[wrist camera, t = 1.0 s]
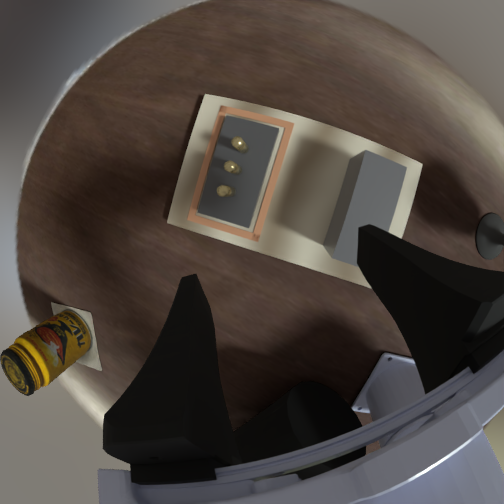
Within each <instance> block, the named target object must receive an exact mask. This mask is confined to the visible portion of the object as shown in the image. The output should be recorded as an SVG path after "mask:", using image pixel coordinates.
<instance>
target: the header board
mask: <svg viewBox="0 0 504 504" xmlns="http://www.w3.org/2000/svg"><path fill="white" fill-rule="evenodd" d="M364 150H368V151H370V152H373V153H375V154H378V155H380V156H383V157H385V158H387V159H390V160H392V161H394V162H396V163H399V164H401V165H403V166H405V167H407V170H406V174H405V178H404V181H403V185H402V189H401V192H400V196H399V199H398V203H397V206H396V209H395V213H394V216H393V219H392V222H391V225H390V228H389V231H388V232H389V233H391V234H393V235H395V236H397V237H399V238H402V235H403V232H404V229H405V226H406V223H407V220H408V217H409V213H410V210H411V207H412V203H413V200H414V196H415V193H416V189H417V185H418V181H419V177H420V173H421V169H422V165H423V164H421V163H419V162H417V161H415V160H413V159H411V158H409V157H407V156H405V155H403V154H400V153H398V152H396V151H394V150H391V149H389V148H387V147H384V146H382V145H380V144H377V143H375V142H373V141H370V140H368V139H365V138H362V137H360V136H357V135H355V134H352V133H349V132H347V131H344V130H341V129H338V128H335V127H333V126H330V125H327V124H324V123H321V122H318V121H314V120H311V119H308V118H305V117H302V116H298V115H295V114H291V113H288V112H284V111H280V110H277V109H273V108H269V107H265V106H261V105H257V104H252V103H248V102H244V101H239V100H234V99H229V98H224V97H219V96H213V95H208V94H205V96H204V98H203V101H202V104H201V107H200V110H199V113H198V116H197V119H196V122H195V125H194V128H193V131H192V134H191V137H190V141H189V144H188V147H187V150H186V154H185V157H184V161H183V164H182V167H181V171H180V175H179V178H178V182H177V185H176V189H175V193H174V197H173V201H172V205H171V209H170V213H169V217H168V221H167V223H169V224H172V225H175V226H178V227H182V228H185V229H188V230H191V231H194V232H197V233H200V234H204V235H207V236H210V237H213V238H216V239H219V240H222V241H225V242H229V243H232V244H235V245H238V246H241V247H244V248H247V249H251V250H254V251H257V252H260V253H263V254H266V255H269V256H272V257H276V258H279V259H282V260H285V261H288V262H291V263H294V264H297V265H301V266H304V267H307V268H310V269H313V270H316V271H319V272H322V273H325V274H329V275H332V276H335V277H338V278H341V279H344V280H347V281H350V282H353V283H357V284H360V285H363V286H366V287H369V288H371V286H370V285H369V284H368V282H367V281H366V279H365V277H364V275H363V274H362V272H361V270H360V268H359V267H357V266H354V265H351V264H348V263H345V262H342V261H339V260H336V259H333V258H331V256H330V255H329V254H328V252H327V251H326V249H325V248H324V246H323V243H324V240H325V237H326V234H327V231H328V228H329V225H330V222H331V219H332V216H333V213H334V210H335V207H336V203H337V200H338V197H339V194H340V190H341V187H342V184H343V181H344V177H345V174H346V170H347V167H348V163H349V160H350V158H352V157H354V156H356V155H357V154H359V153H361V152H362V151H364Z"/></svg>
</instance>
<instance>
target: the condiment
mask: <svg viewBox="0 0 504 504" xmlns="http://www.w3.org/2000/svg"><path fill="white" fill-rule="evenodd" d="M51 305H52V310H53V315H54V316H53V317H51V318H49V319H47V320H46V321H43V322H42V323H40V324H39V325H37V326H36V327H34V328H33V329H31V330H29V331H27V332H25V333H24V334H23V335H21V336H19V337H18V338H17V339H16V340H15V342H14V344H13V345H11V346H9V348H7V349H6V350H4V351H3V352H2V354H1V357H0V360H1V365H2V368H3V370H4V373H5V375H6V376H7V378H8V379H9V381H10V382H11V383H12V385H13V386H14V387H15V388H16V389H17V390H18V391H19V392H20V393H22V394H24V395H27V396H29V395H31V394H33V393H34V391H36V390H38V389H39V388H40V387H43V386H47V385H48V384H50V383H51V382H52V381H53V380H54V379H55V378H57V377H58V376H59V375H60V374H61V373H62V372H64V371H65V370H66V369H67V368H68V367H70V366H71V365H72V364H74V363H75V362H78V363H80V364H83V365H86V366H88V367H91V368H95V369H97V370H100V371H102V368H101V364H100V360H99V355H98V350H97V343H96V338H95V332H94V326H93V320H92V315H91V312H87V311H83V310H80V309H76V308H73V307H68V306H65V305H60V304H56V303H52V302H51Z"/></svg>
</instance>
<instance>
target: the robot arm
mask: <svg viewBox="0 0 504 504" xmlns="http://www.w3.org/2000/svg"><path fill="white" fill-rule="evenodd" d="M357 264H358V266H359V268H360V270H361V272H362V274H363V275H364V277H365V279H366V281H367V282H368V284H369V285H370V286H371V288H372V289H373V290H374V292H375V293H376V295H377V296H378V297H379V299H380V300H381V302H382V303H383V304H384V306H385V307H386V308H387V310H388V311H389V313H390V314H391V316H392V317H393V319H394V320H395V322H396V324H397V326H398V328H399V329H400V331H401V333H402V335H403V337H404V339H405V341H406V344H407V346H408V348H409V350H410V352H411V355H412V357H413V358H408V357H404V356H399V355H395V354H391V353H384V354H382V355H381V357H380V359H379V361H378V363H377V364H376V366H375V368H374V370H373V372H372V373H371V375H370V377H369V378H368V380H367V382H366V383H365V385H364V387H363V388H362V390H361V392H360V393H359V395H358V396H357V398H356V400H355V401H354V403H353V404H352V406H351V408H352V410H353V411H358V412H365V413H370V414H371V417H372V420H373V422H372V423H369V424H367V425H365V426H363V427H360V428H358V429H356V430H353V431H351V432H348V433H346V434H343V435H341V436H338V437H335V438H333V439H330V440H327V441H324V442H322V443H319V444H316V445H313V446H310V447H306V448H303V449H300V450H297V451H293V452H290V453H286V454H283V455H279V456H275V457H271V458H267V459H263V460H259V461H254V462H249V463H245V464H242V463H243V462H242V460H241V457H240V453H239V450H238V447H237V444H236V441H235V437H234V434H233V430H232V427H231V423H230V420H229V416H228V412H227V408H226V404H225V400H224V396H223V391H222V387H221V382H220V376H219V369H218V359H217V349H216V338H215V328H214V323H213V318H212V313H211V308H210V305H209V303H208V301H207V298H206V296H205V294H204V291H203V289H202V287H201V284H200V282H199V279H198V277H197V275H196V274H193V275H189V276H185V277H182V279H181V280H180V283H179V287H178V290H177V293H176V296H175V299H174V301H173V304H172V307H171V309H170V312H169V315H168V317H167V320H166V322H165V324H164V327H163V329H162V331H161V334H160V336H159V338H158V340H157V342H156V344H155V346H154V348H153V350H152V351H151V353H150V355H149V357H148V358H147V360H146V362H145V363H144V365H143V367H142V368H141V370H140V372H139V373H138V375H137V376H136V377H135V379H134V380H133V381H132V383H131V384H130V386H129V387H128V388H127V390H126V391H125V392H124V393H123V395H122V396H121V397H120V398H119V399H118V400H117V401H116V403H115V404H114V405H113V406H112V407H111V408H110V409H109V410H108V411H107V412H106V414H105V415H104V422H103V449H104V450H105V452H106V453H107V454H109V455H111V456H113V457H115V458H117V459H120V460H122V461H124V462H126V463H129V464H130V468H131V471H128V470H114V469H99V470H98V491H99V504H504V474H503V471H502V469H501V467H500V464H499V462H498V460H497V458H496V456H495V454H494V451H493V449H492V447H491V445H490V443H489V442H488V439H487V437H486V435H485V433H484V431H483V426H484V425H485V424H486V423H487V422H488V421H490V420H491V419H492V418H493V417H494V416H495V415H496V414H497V413H498V412H499V411H500V410H501V409H502V408H503V407H504V272H501V271H493V270H487V269H482V268H477V267H473V266H469V265H465V264H462V263H459V262H455V261H452V260H449V259H447V258H444V257H441V256H438V255H436V254H433V253H431V252H429V251H426V250H424V249H422V248H420V247H417V246H415V245H413V244H411V243H409V242H407V241H405V240H403V239H401V238H399V237H397V236H395V235H393V234H391V233H389V232H387V231H385V230H383V229H381V228H378V227H376V226H374V225H371V224H368V225H364V226H361V227H358V248H357ZM389 357H391V358H390V359H388V358H389ZM359 407H360V408H359ZM377 440H379V444H380V447H381V448H380V449H378V450H376V451H374V452H372V453H370V454H368V455H366V456H363V457H361V458H359V459H357V460H355V461H352V462H350V463H348V464H345V465H343V466H340V467H338V468H335V469H333V470H330V471H328V472H325V473H322V474H320V475H317V476H314V477H311V478H308V479H305V480H301V479H300V478H298V475H297V474H290V475H285V476H280V477H275V476H279V475H283V474H287V473H291V472H294V471H298V470H301V469H304V468H308V467H311V466H314V465H317V464H320V463H323V462H326V461H329V460H331V459H334V458H337V457H340V456H342V455H345V454H347V453H350V452H352V451H355V450H357V449H359V448H362V447H364V446H366V445H369V444H371V443H373V442H375V441H377ZM271 477H274V478H271ZM267 478H268V479H267ZM262 479H263V480H262Z"/></svg>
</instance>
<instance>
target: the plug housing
mask: <svg viewBox="0 0 504 504" xmlns="http://www.w3.org/2000/svg"><path fill="white" fill-rule="evenodd" d="M406 170H407V167H405V166H403V165H401V164H399V163H396V162H394V161H392V160H390V159H387V158H385V157H383V156H380V155H378V154H375V153H373V152H370V151H368V150H364V151H362V152H361V153H359V154H357V155H356V156H354V157H352V158H350V160H349V163H348V167H347V170H346V174H345V177H344V181H343V184H342V187H341V190H340V194H339V197H338V200H337V203H336V207H335V210H334V213H333V216H332V219H331V222H330V225H329V228H328V231H327V234H326V237H325V240H324V243H323V246H324V248H325V249H326V251H327V252H328V254H329V255H330V256H331V258H333V259H336V260H339V261H342V262H345V263H348V264H351V265H354V266H357V267H359V266H358V264H357V248H358V227H361V226H364V225H368V224H371V225H374V226H376V227H378V228H381V229H383V230H385V231H387V232H388V231H389V228H390V225H391V222H392V219H393V216H394V213H395V209H396V206H397V203H398V199H399V196H400V192H401V189H402V185H403V181H404V178H405V174H406Z"/></svg>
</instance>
